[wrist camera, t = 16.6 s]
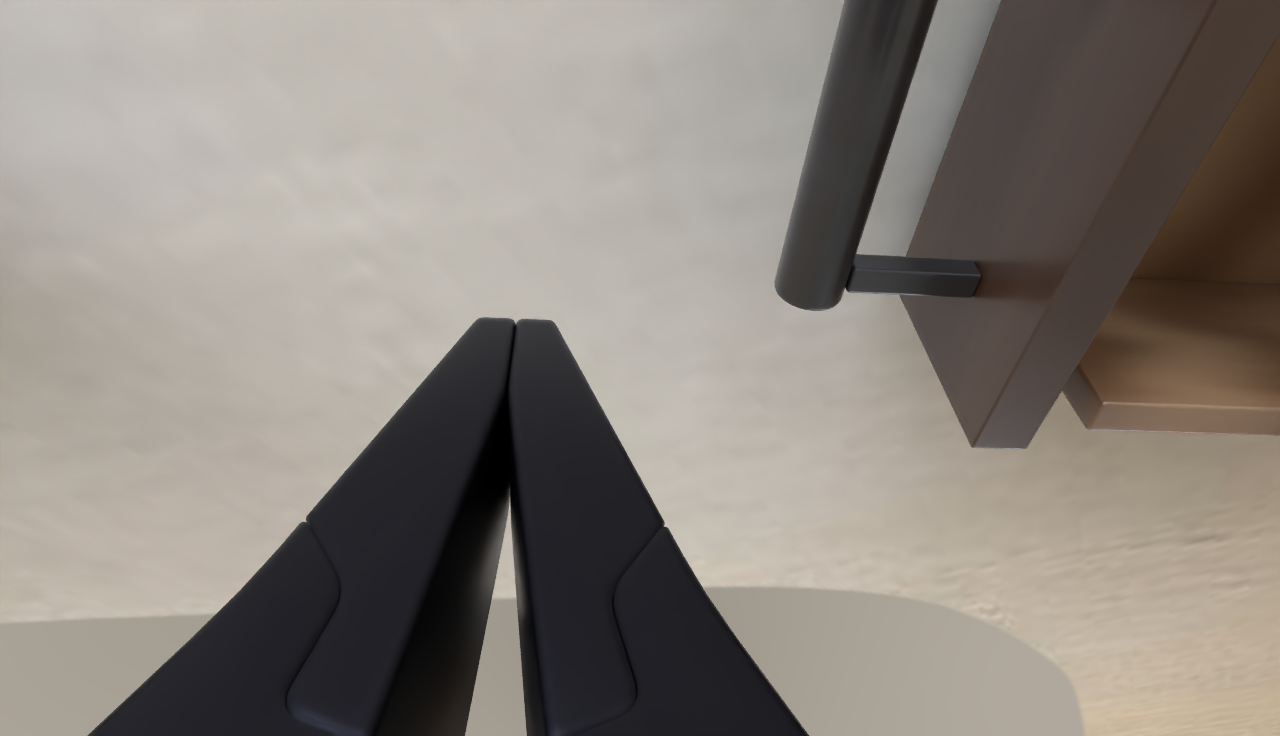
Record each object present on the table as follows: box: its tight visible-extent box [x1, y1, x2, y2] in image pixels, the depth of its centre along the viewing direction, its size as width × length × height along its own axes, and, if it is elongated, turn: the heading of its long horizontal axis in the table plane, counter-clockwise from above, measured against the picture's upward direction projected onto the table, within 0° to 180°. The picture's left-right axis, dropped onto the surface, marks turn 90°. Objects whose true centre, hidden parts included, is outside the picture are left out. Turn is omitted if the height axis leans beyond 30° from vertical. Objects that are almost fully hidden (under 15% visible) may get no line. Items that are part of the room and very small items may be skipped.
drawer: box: [774, 0, 1280, 449], centre depth 15 cm, size 16×11×6 cm
